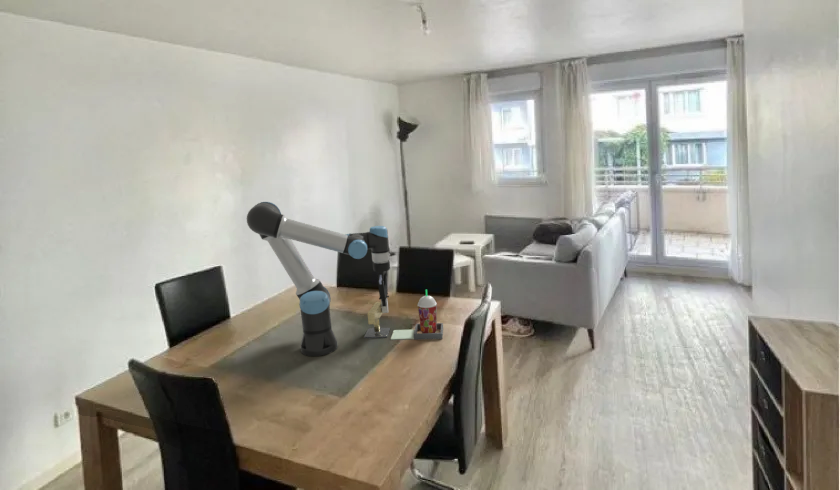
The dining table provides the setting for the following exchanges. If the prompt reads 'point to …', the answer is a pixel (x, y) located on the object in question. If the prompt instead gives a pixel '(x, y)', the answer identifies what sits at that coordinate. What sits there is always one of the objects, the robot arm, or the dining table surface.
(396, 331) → the mat
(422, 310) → the smoothie
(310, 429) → the dining table surface
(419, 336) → the socket
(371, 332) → the lock plate
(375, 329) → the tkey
